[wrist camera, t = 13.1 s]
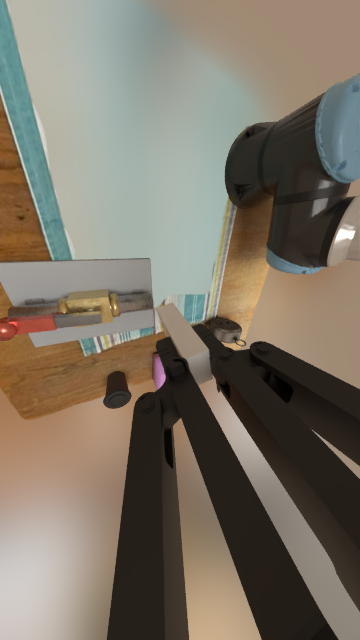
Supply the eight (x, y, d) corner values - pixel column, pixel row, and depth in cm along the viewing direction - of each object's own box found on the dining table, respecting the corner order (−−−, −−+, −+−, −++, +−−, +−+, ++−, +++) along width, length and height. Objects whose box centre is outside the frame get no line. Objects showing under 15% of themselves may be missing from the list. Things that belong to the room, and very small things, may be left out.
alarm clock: (201, 327, 59) (227, 355, 47) (204, 314, 57) (233, 340, 44) (224, 325, 64) (254, 350, 51) (228, 313, 61) (260, 336, 48)
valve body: (15, 297, 33) (-1, 309, 28) (148, 285, 43) (153, 293, 38) (28, 323, 36) (16, 337, 31) (149, 307, 46) (154, 316, 41)
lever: (100, 305, 35) (99, 315, 31) (102, 317, 36) (102, 328, 32) (0, 313, 29) (-16, 326, 25) (7, 327, 30) (-7, 342, 26)
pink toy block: (175, 373, 67) (187, 399, 57) (151, 379, 63) (160, 408, 53) (180, 334, 57) (195, 357, 47) (152, 338, 53) (163, 364, 43)
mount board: (-5, 261, 31) (-10, 263, 29) (149, 258, 41) (150, 259, 40) (37, 343, 40) (35, 347, 39) (152, 324, 51) (154, 326, 50)
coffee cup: (113, 388, 57) (114, 414, 50) (98, 377, 53) (96, 404, 45) (132, 376, 58) (137, 399, 50) (119, 364, 53) (121, 388, 45)
